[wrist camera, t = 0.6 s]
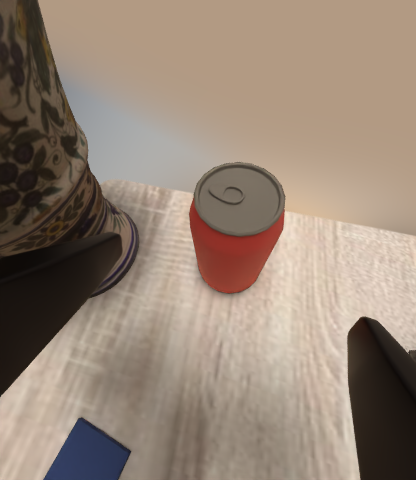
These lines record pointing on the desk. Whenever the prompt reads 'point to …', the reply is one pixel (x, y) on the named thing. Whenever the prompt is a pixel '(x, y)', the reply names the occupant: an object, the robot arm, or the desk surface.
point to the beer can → (235, 224)
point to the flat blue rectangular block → (88, 456)
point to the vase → (46, 152)
